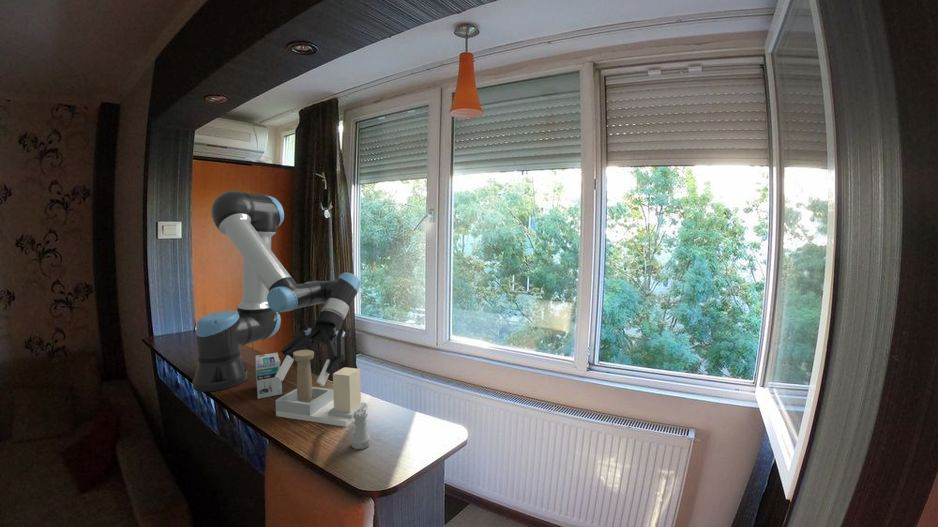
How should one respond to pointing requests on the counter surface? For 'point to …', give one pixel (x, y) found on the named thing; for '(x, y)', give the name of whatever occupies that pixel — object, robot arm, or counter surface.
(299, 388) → the beige tall capped post
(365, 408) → the white tray base
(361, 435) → the rook chess piece
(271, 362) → the light bulb box
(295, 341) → the robot arm
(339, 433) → the counter surface
